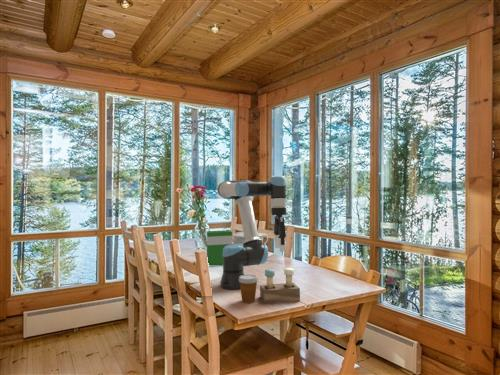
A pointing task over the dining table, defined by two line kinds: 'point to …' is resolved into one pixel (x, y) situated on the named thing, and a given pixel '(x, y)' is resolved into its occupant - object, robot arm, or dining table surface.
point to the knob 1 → (269, 278)
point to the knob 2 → (288, 276)
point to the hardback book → (217, 245)
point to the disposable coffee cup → (248, 287)
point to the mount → (279, 293)
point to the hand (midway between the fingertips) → (280, 249)
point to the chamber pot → (240, 238)
